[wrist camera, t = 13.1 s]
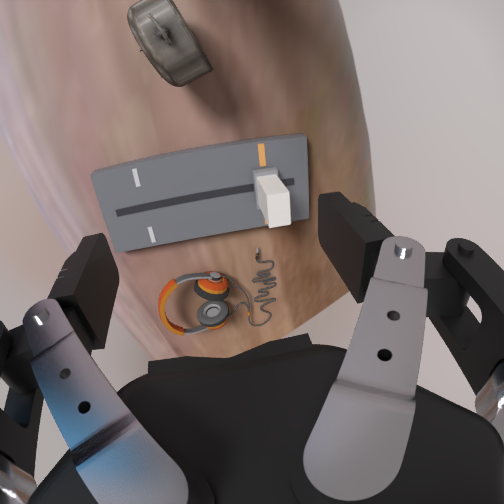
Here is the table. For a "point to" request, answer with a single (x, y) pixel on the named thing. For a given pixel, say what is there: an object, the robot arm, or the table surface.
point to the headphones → (215, 291)
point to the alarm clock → (167, 41)
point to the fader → (271, 197)
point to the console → (198, 190)
